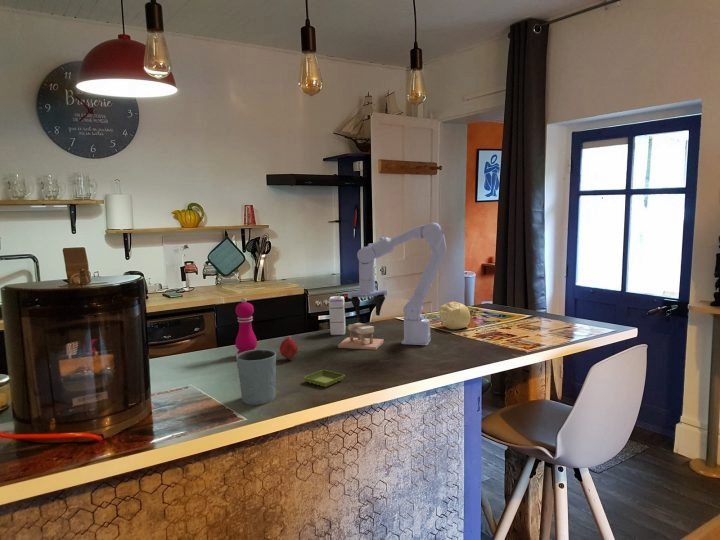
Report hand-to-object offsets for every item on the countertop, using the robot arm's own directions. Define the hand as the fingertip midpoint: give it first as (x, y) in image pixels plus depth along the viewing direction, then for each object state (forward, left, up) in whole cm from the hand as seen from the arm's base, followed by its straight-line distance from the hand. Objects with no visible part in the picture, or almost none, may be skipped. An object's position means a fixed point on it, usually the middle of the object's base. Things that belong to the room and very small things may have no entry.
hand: (367, 316), depth 192 cm
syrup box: (+15, -9, -10) cm, 20 cm away
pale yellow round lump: (-29, -27, -10) cm, 41 cm away
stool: (+1, +6, -8) cm, 10 cm away
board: (+1, +6, -9) cm, 11 cm away
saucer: (0, +47, -10) cm, 48 cm away
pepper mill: (+35, +28, -10) cm, 46 cm away
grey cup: (+12, +64, -10) cm, 66 cm away
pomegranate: (+19, +29, -10) cm, 36 cm away
